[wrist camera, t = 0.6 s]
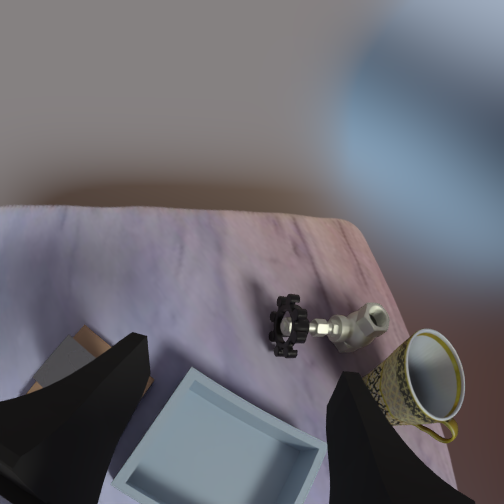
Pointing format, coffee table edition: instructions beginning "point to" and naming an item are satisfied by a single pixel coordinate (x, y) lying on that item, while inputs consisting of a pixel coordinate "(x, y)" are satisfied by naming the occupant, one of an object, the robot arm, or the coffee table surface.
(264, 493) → the bin
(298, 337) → the valve
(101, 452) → the robot arm
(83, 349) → the grey rectangular block
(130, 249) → the coffee table surface
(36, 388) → the stud block
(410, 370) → the ceramic cup
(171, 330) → the coffee table surface
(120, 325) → the coffee table surface
